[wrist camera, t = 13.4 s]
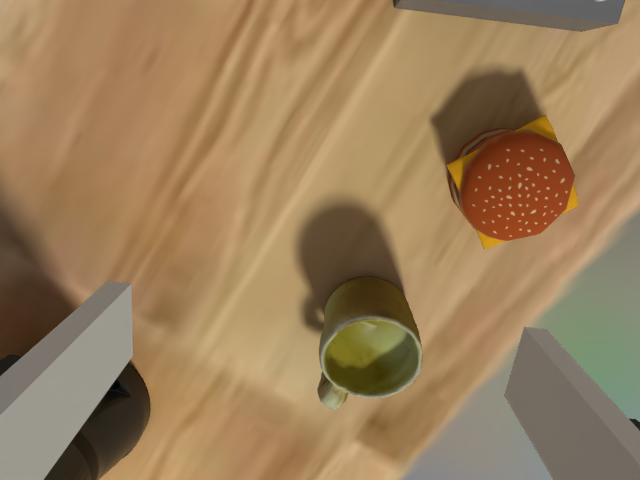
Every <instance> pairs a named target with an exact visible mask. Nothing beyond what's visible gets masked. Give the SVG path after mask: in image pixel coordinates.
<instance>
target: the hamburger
mask: <svg viewBox="0 0 640 480" xmlns="http://www.w3.org/2000/svg"><path fill="white" fill-rule="evenodd" d="M446 166H447V167H448V169H449V171H450V173H451V176H450V182H449V186H450V190H451V194H452V198H453V202H454V203H455V204H456V206H457V207H458V208H459V209H460V211H461V212H462V213H463V215H464V216H465V218H466V219H467V220H468V221H469V223H470V224H471V225H472V227H473V228H474V229H476V231H477V233H478V235H479V238H480V240H481V243H482V245H483V248H484V249H487V248H489V247H492V246H494V245H497V244H499V243H502V242H504V241H509V240H513V239H518V238H523V237H527V236H532V235H537V234H540V233H541V232H543V231H544V230H545V229H546V228H547V227H548V226H549V225H550V224H551V223H552V222H553V221H554V220H555V219H556V218H557V217H559V216H560V215H562V214H563V213H565V212H567V211H569V210H571V209H573V208H574V207H576V206H578V199H577V194H576V191H575V188H574V185H573V181H574V178H575V175H574V172H573V170H572V168H571V165H570V163H569V161H568V159H567V156H566V154H565V152H564V150H563V147H562V145H561V144H560V143H558V141H557V138H556V136H555V133H554V131H553V128H552V126H551V125H550V123H549V121H548V119H547V117H546V115H543V116H541V117H540V118H538V119H536V120H534V121H532V122H531V123H529V124H527V125H525V126H523V127H522V128H520V129H518V130H514V129H502V128H498V129H495V130H492V131H488V132H485V133H482V134H479V135H478V136H477V137H475V138H474V139H473V140H472V141H470V142H469V143H468V144H467V145H465V146H464V147H463V148H462V150H461V151H460V153H459V155H458V156H457V158H456V160H455V161H453V162H451V163H449V164H447V165H446Z"/></svg>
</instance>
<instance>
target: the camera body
mask: <svg viewBox="0 0 640 480" xmlns="http://www.w3.org/2000/svg"><path fill="white" fill-rule="evenodd" d="M624 2H625V0H395V7H394V8H400V9H407V10H415V11H423V12H431V13H439V14H447V15H455V16H463V17H470V18H478V19H486V20H494V21H502V22H510V23H518V24H526V25H533V26H541V27H549V28H557V29H565V30H573V31H581V32H582V31H587V30H591V29H596V28H600V27H605V26H609V25H614V24H618V22H619V19H620V15H621V12H622V9H623V5H624Z"/></svg>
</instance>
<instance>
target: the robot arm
mask: <svg viewBox="0 0 640 480" xmlns="http://www.w3.org/2000/svg"><path fill="white" fill-rule="evenodd" d="M132 356H133V342H132V291H131V284H128V283H119V282H110V281H108V282H106V283H105V284H104V285H103V286H102V287H101V288H100V289H99V290H97V291H96V292H95V293H94V294H93V295H92V296H91V297H89V298H88V299H87V300H86V301H85V302H84V303H83V304H82V305H80V306H79V307H78V308H77V309H76V310H75V311H74V312H72V313H71V314H70V315H69V316H68V317H67V318H66V319H65V320H63V321H62V322H61V323H60V324H59V325H58V326H57V327H56V328H54V329H53V330H52V331H51V332H50V333H49V334H48V335H46V336H45V337H44V338H43V339H42V340H41V341H40V342H39V343H37V344H36V345H35V346H34V347H33V348H32V349H31V350H29V351H28V352H27V353H26V354H25V355H24V356H16V355H9V356H7V357H5V358H3V359H1V360H0V480H99V479H100V478H101V477H102V476H104V475H105V474H106V473H107V472H108V471H109V470H110V469H111V468H112V467H114V466H115V465H116V464H117V463H118V462H119V461H120V460H121V459H122V458H124V457H125V456H126V455H128V454H129V453H130V452H131V451H132V449H133V448H134V447H135V446H136V444H137V443H138V441H139V439H140V437H141V436H142V434H143V432H144V430H145V428H146V426H147V424H148V421H149V417H150V399H149V395H148V392H147V389H146V387H145V385H144V383H143V381H142V379H141V378H140V376H139V375H138V374H137V372H136V371H135V370H134V369H133V368H132V367H131V366H130V365H129V364H128V362H129V361H130V359H131V358H132ZM504 396H505V398H506V399H507V401H508V403H509V404H510V406H511V408H512V410H513V411H514V413H515V415H516V416H517V418H518V420H519V422H520V423H521V425H522V427H523V428H524V430H525V432H526V433H527V435H528V437H529V439H530V440H531V442H532V444H533V446H534V447H535V449H536V451H537V453H538V454H539V456H540V458H541V459H542V461H543V463H544V464H545V466H546V468H547V470H548V471H549V473H550V475H551V477H552V478H553V480H640V422H638V421H637V420H636V419H629V418H628V417H627V416H626V415H625V414H624V413H623V412H622V411H621V410H620V409H619V408H618V406H617V405H616V404H615V403H614V402H613V401H612V400H611V399H610V398H609V397H608V396H607V395H606V393H605V392H604V391H603V390H602V389H601V388H600V387H599V386H598V385H597V384H596V383H595V381H594V380H593V379H592V378H591V377H590V376H589V375H588V374H587V373H586V372H585V371H584V369H583V368H582V367H581V366H580V365H579V364H578V363H577V362H576V361H575V360H574V359H573V358H572V356H571V355H570V354H569V353H568V352H567V351H566V350H565V349H564V348H563V347H562V346H561V344H560V343H559V342H558V341H557V340H556V339H555V338H554V337H553V336H552V335H551V334H550V333H549V331H548V330H546V329H538V328H529V327H524V330H523V333H522V337H521V340H520V343H519V347H518V350H517V354H516V357H515V360H514V364H513V367H512V371H511V374H510V377H509V382H508V384H507V388H506V391H505V395H504Z"/></svg>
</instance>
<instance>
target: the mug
mask: <svg viewBox="0 0 640 480" xmlns="http://www.w3.org/2000/svg"><path fill="white" fill-rule="evenodd" d="M422 357H423V354H422V346H421V341H420V336H419V331H418V329H417V325H416V323H415V321H414V318H413V315H412V312H411V310H410V308H409V305H408V302H407V300H406V298H405V296H404V295H403V293H402V292H401V291H400V290H399V289H398V288H397V287H396V286H394V285H393V284H392V283H390V282H388V281H386V280H383V279H379V278H375V277H359V278H355V279H351V280H348V281H346V282H345V283H343V284H342V285H340V286H339V287H338V288H337V289H336V290H335V291H334V292H333V293H332V295H331V296H330V298H329V300H328V302H327V304H326V307H325V310H324V326H323V331H322V335H321V339H320V346H319V358H320V365H321V368H322V371H323V372H322V374H321V380H320V383H319V387H318V395H319V398H320V401H321V402H322V403H323V404H324V405H326V406H327V407H329V408H330V409H332V410H335V409H336V408H338V407H340V406H341V405H342V404H343V403H344V402H345V401H346V398H347V395H348V393H350V394H353V395H355V396H357V397H363V398H385V397H389V396H391V395H394V394H396V393H398V392H400V391H402V390H404V389H405V388H407V387H408V386H409V385H411V384H412V383H413V382H414V381H415V380H416V378H417V377H418V375H419V373H420V371H421V368H422V361H423V360H422Z"/></svg>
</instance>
